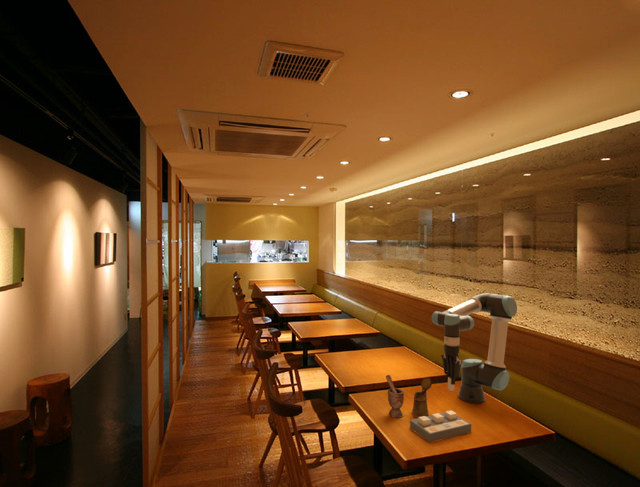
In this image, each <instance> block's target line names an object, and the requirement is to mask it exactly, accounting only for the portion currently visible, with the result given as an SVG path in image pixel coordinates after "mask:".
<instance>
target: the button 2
mask: <svg viewBox="0 0 640 487" xmlns="http://www.w3.org/2000/svg"><path fill="white" fill-rule="evenodd" d="M444 413H445V417H446V418H448V419H449V420H454V419H457V416H458V415H457V413H456V412H454V411H453V410H451V409H450V410H446V411H445V412H444Z"/></svg>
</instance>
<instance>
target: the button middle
mask: <svg viewBox="0 0 640 487" xmlns="http://www.w3.org/2000/svg"><path fill="white" fill-rule="evenodd" d="M431 415H432V420H433V421H435V422H436V423H441V422H444V416H442V415H441V414H440V413H439V412H437V413H433V414H431Z"/></svg>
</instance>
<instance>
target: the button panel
mask: <svg viewBox="0 0 640 487" xmlns="http://www.w3.org/2000/svg"><path fill="white" fill-rule="evenodd" d="M439 414H441V415H442V416H444V422H441V423H436V422H435V421H433V420H432V414H431V415H428V416H427V418H429V419H430V425H427V426H422V425H421V424H419V423H418V419H419V417H417V418H414V419H410V420H409V428H410V430H412V431H413V432H415V433H416V434H418V435H419V436H420V437H422V439H424V440H425V441H426V442H428V443H433V442H437V441H441V440H445V439H449V438H452V437H457V436H461V435H465V434H469V433H472V423H471V422H469V421H467V420H466V419H464V418H462V417H460V416H459V415H457V419H454V420H449V419H448V418H446V417H445V412H441V413H439Z"/></svg>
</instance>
